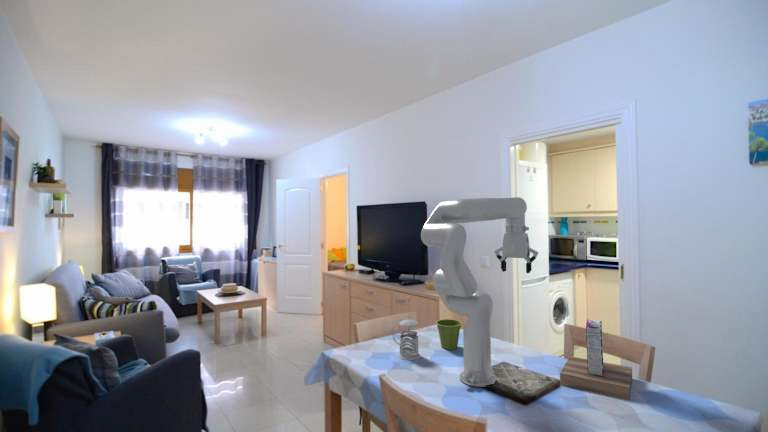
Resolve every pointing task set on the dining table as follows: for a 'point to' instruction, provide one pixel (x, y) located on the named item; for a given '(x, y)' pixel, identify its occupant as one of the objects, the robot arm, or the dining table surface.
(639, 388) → the dining table surface
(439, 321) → the plant pot
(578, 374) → the walnut stand
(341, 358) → the dining table surface
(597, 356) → the candy bar box
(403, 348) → the french press
